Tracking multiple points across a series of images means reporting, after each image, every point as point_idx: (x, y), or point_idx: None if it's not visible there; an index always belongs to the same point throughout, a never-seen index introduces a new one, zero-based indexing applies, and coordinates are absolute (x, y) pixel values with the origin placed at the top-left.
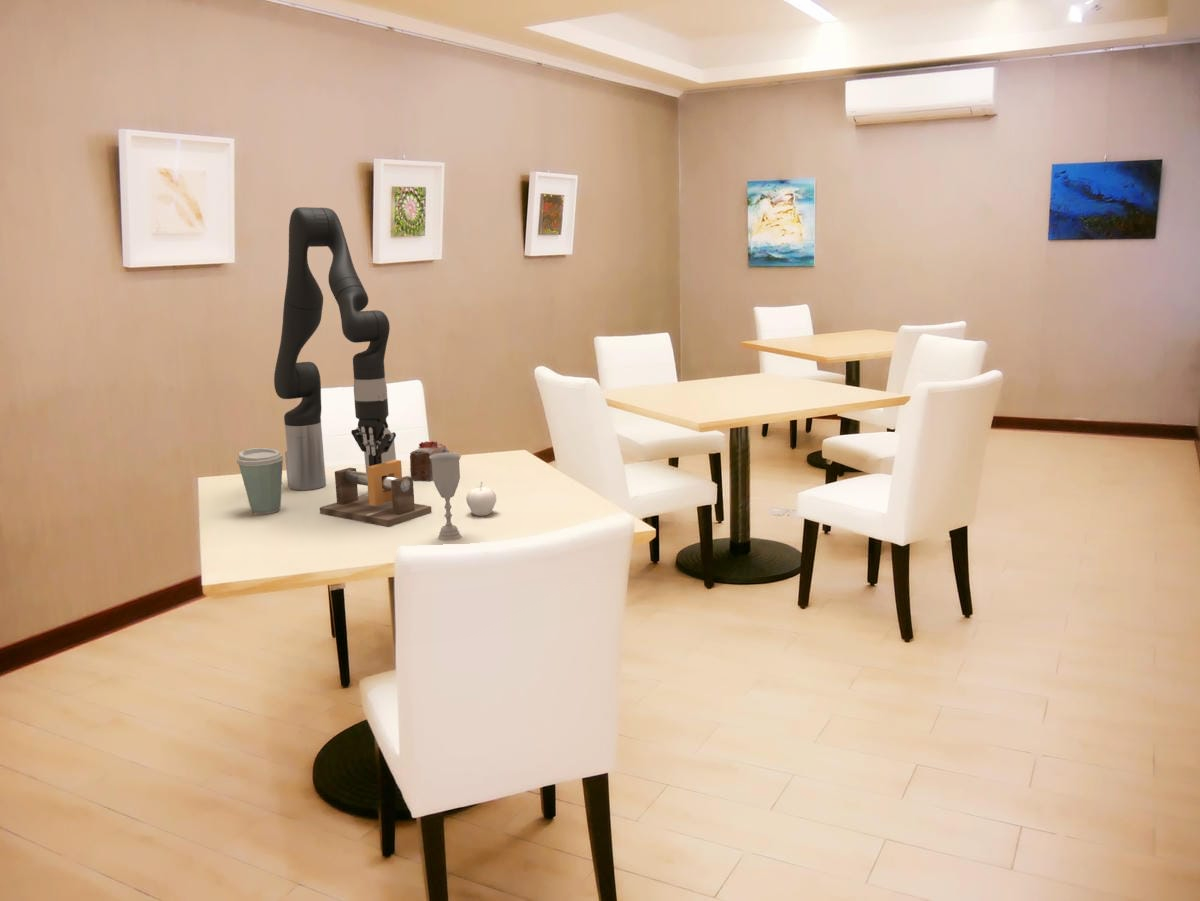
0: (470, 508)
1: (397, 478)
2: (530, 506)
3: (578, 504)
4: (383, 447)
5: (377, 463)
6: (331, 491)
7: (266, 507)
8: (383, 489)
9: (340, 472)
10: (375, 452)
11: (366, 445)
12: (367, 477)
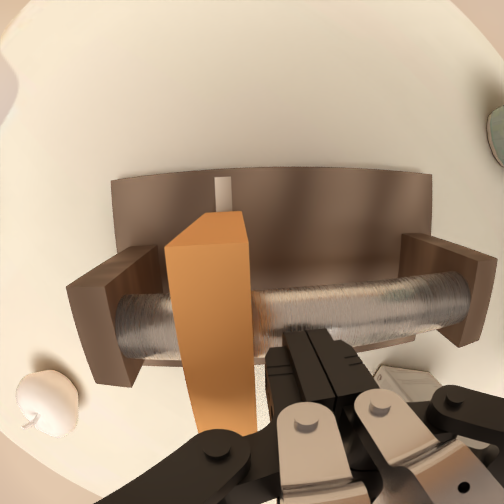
0: (53, 376)
1: (120, 337)
2: (63, 438)
3: (41, 452)
4: (126, 487)
5: (266, 372)
6: (490, 326)
7: (497, 114)
8: (382, 388)
9: (477, 262)
10: (278, 435)
11: (429, 449)
12: (244, 226)
